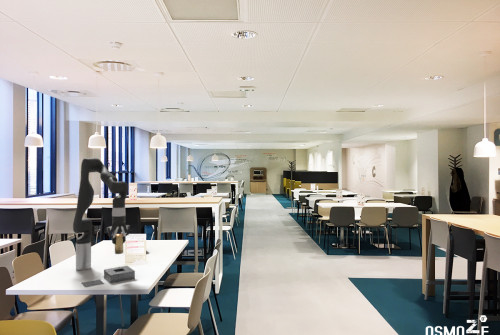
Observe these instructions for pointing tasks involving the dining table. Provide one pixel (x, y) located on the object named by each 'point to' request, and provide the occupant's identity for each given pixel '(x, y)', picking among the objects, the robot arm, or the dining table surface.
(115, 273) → the housing
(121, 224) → the robot arm
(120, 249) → the brass cylinder
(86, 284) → the mat
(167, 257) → the dining table surface
